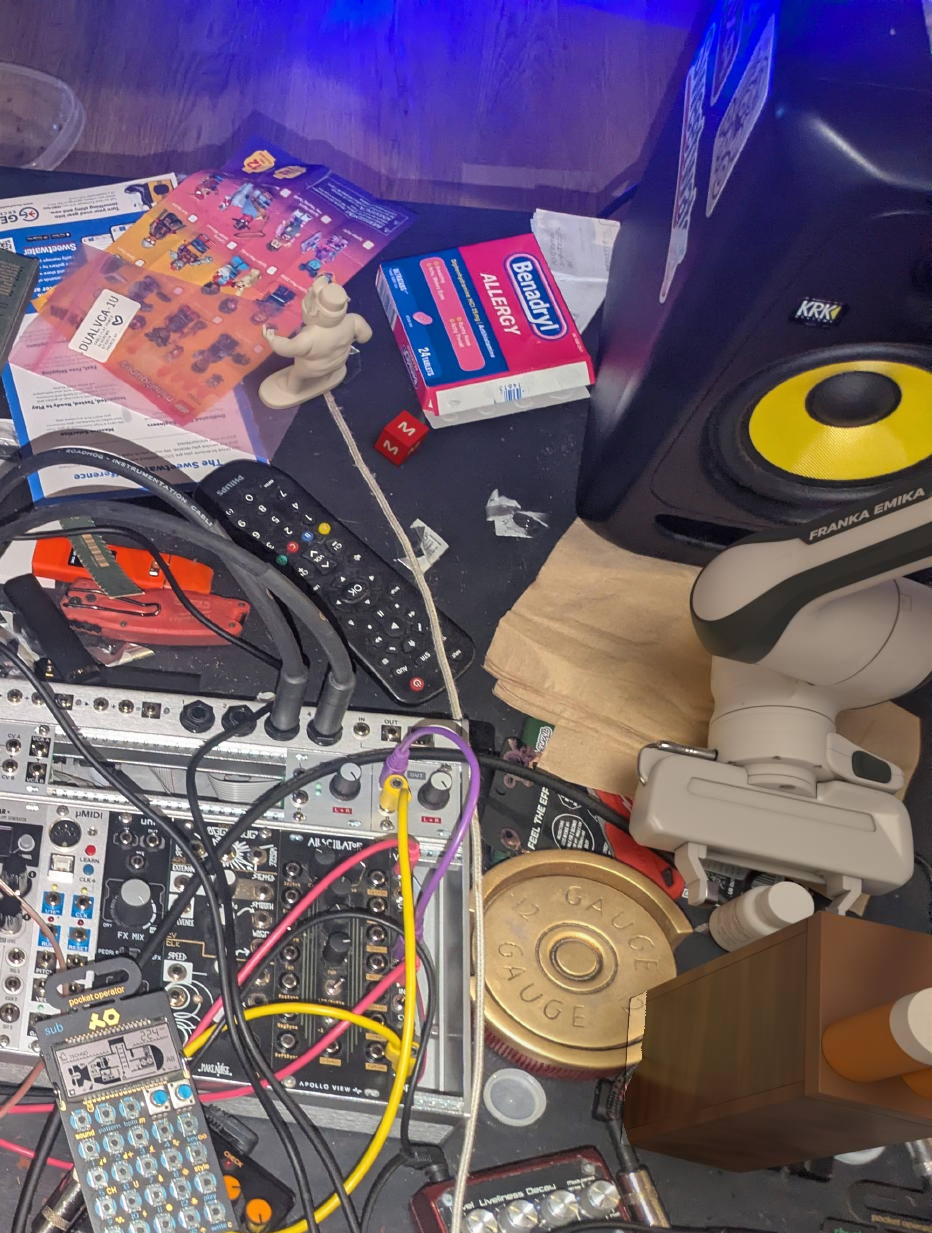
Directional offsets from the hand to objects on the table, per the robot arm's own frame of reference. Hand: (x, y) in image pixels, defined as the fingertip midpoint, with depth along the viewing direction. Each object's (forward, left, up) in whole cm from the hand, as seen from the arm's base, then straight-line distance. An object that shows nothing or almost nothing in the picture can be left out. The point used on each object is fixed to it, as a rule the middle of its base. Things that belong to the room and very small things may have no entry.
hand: (765, 918), depth 107 cm
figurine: (+42, -48, -5) cm, 64 cm away
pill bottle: (0, -1, -5) cm, 5 cm away
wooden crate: (+3, +13, -5) cm, 15 cm away
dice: (+32, -42, -5) cm, 53 cm away
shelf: (+3, +13, +18) cm, 23 cm away
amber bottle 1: (+5, +16, +20) cm, 26 cm away
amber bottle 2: (+1, +16, +20) cm, 26 cm away
